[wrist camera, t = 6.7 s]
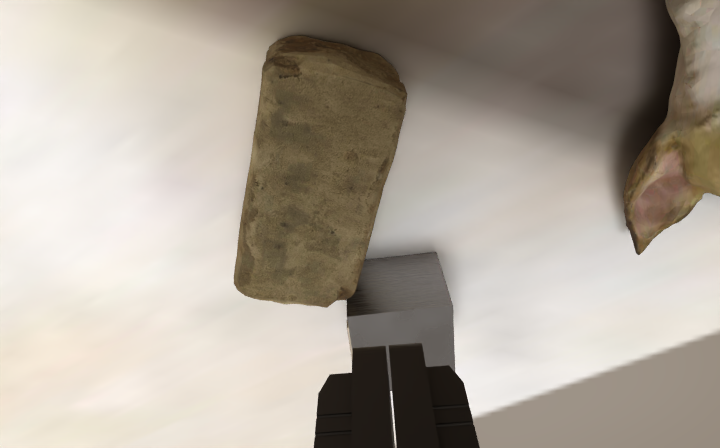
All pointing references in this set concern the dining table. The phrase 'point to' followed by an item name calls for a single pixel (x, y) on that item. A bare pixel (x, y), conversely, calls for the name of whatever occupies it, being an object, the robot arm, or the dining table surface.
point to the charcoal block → (403, 308)
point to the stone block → (316, 170)
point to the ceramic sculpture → (681, 131)
